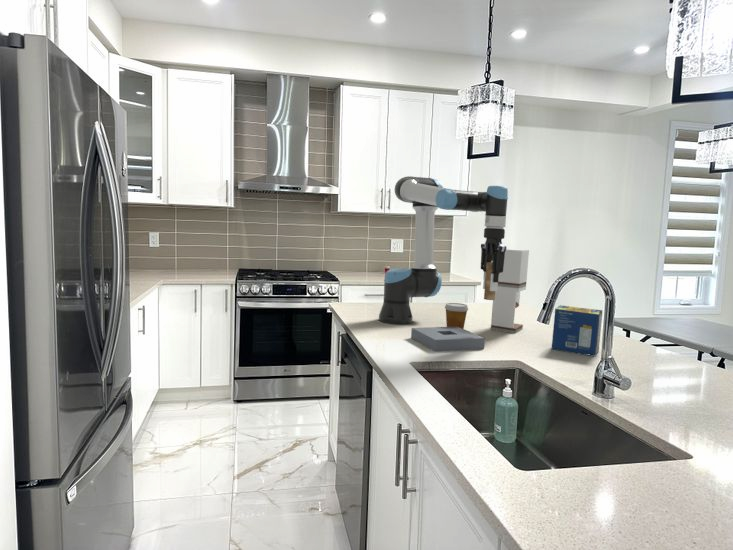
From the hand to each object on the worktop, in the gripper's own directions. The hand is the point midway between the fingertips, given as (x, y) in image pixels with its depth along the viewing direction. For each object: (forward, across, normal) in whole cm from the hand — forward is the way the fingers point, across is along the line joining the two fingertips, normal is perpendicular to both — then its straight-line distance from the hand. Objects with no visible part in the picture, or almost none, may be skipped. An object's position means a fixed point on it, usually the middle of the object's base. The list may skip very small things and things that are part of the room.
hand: (489, 289), depth 195 cm
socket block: (+21, -2, -16) cm, 26 cm away
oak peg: (+4, 0, 0) cm, 4 cm away
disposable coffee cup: (+21, -17, -4) cm, 27 cm away
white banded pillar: (+21, -21, +24) cm, 38 cm away
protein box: (+21, +15, +29) cm, 39 cm away
